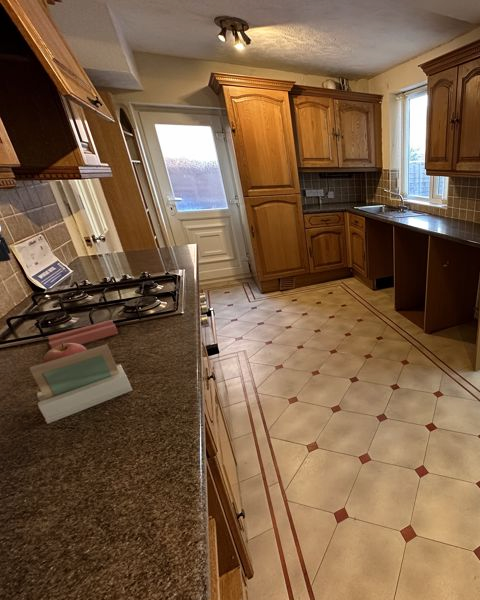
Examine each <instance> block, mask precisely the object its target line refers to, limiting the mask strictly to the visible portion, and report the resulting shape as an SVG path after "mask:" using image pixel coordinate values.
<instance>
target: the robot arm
mask: <svg viewBox="0 0 480 600" xmlns="http://www.w3.org/2000/svg"><path fill="white" fill-rule="evenodd" d="M1 232H2V226H1V225H0V263H2V262H3V263H4V262H8V261H11V256H10V254H11V253H12V251H11V248H10V247H9V245H8V243H7V241H6V239H5V237H4V236H2V233H1Z"/></svg>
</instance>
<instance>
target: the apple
mask: <svg viewBox="0 0 480 600" xmlns="http://www.w3.org/2000/svg"><path fill="white" fill-rule="evenodd" d="M85 350H88V349H87V347H85V346H84V345H83V344H76V343H65V344H64V343H62V345H59V346H57V347H55V348H53V349H52V348H50V350H48V351H47V352H46V353H45V354H44V356H43V359H42V363H46V362H49V361H52V360H56V359H59V358H62V357H66V356H69V355H72V354H75V353H79V352H82V351H85Z"/></svg>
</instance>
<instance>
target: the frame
mask: <svg viewBox="0 0 480 600" xmlns="http://www.w3.org/2000/svg"><path fill="white" fill-rule="evenodd" d="M29 371H30V374H31V375H32V377H33V379H34V381H35V382H36V384H37V386H38V388H39V389H40V392H41V391H42V393H43V395H44V397H45V398H46V400H47V399H50V398H52V397H55V396H58V395H61V394H64V393H66V392H69V391H72V390H75V389H78V388H80V387H83V386H86V385H89V384H91V383H94V382H97V381H100V380H103V379H105V378H108V377H111V376H114V375H117V374H119V371H118V369H117V364H116V362H115V360H114V357H113V355H112V353H111V350H110V347H109V345H108V344H107V343H106V344H102V345H99V346H96V347H92V348H88V349H87V350H85V351H82V352H79V353H75V354H72V355H69V356H66V357H62V358H59V359H56V360H52V361H49V362H46V363H43V362H42V363H39V364H36V365H33V366H30V367H29Z"/></svg>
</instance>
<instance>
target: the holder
mask: <svg viewBox="0 0 480 600" xmlns="http://www.w3.org/2000/svg"><path fill="white" fill-rule="evenodd" d="M116 366H117V369H118V371H119V374H117V375H114V376H111V377H108V378H105V379H103V380H100V381H97V382H94V383H91V384H89V385H86V386H83V387H80V388H78V389H75V390H72V391H69V392H66V393H64V394H61V395H58V396H55V397H52V398H50V399H47V400H46V398H45V397H44V395H43V393H42V391H41V390H40V391H37V392H36V396H37V397H36V398H37V399H38V402H37V405H38V409H39V411H40V412H41V414H42V416H43V418H44V421H45V422H46V424H47V425H48V424H51V423H54V422H56V421H60V420H61V419H65V418H67V417H69V416H71V415H75V414H76V413H79V412H81V411H84V410H88V409H90V408H92V407H94V406H97V405H100V404H101V403H104V402H107V401H109V400H112V399H115V398H117V397H119V396H122V395H125V394H127V393H130V392H132V391H133V388H132V386H131V383H130V380H129V378H128V376H127V374H126V372H125V371H124V369H123V367H122V365H121V364H116Z"/></svg>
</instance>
